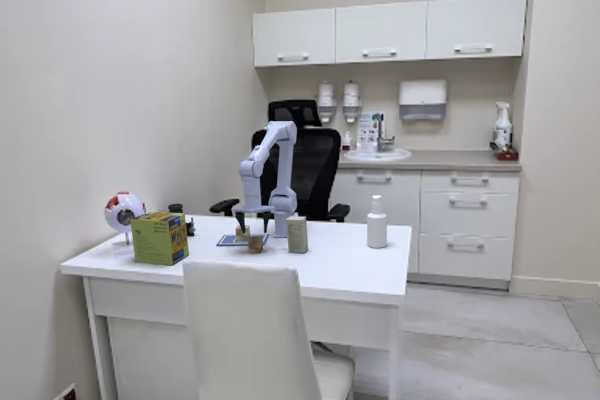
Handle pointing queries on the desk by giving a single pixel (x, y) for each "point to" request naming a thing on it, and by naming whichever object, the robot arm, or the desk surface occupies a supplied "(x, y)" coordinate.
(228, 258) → the desk surface
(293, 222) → the skincare box
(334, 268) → the desk surface
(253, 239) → the walnut block
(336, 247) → the desk surface
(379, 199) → the spray bottle
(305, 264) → the desk surface
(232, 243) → the board
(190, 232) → the scope
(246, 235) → the maple block
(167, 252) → the protein box
